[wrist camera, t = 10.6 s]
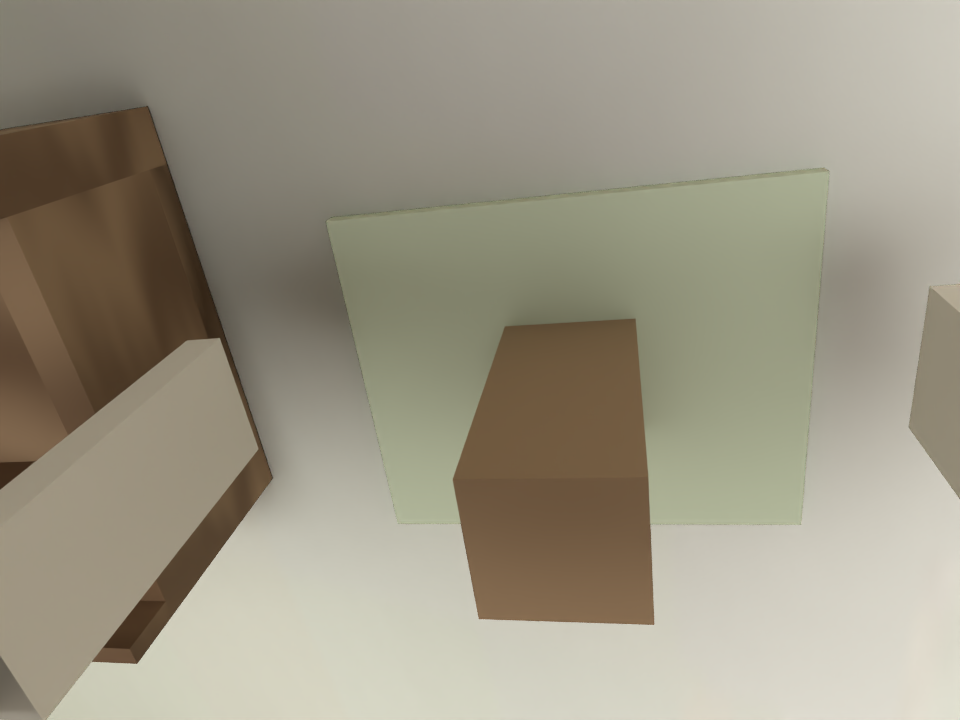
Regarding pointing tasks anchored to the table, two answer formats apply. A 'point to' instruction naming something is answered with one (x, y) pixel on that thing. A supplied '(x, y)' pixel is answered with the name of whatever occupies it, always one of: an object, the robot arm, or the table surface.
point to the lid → (589, 374)
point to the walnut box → (101, 313)
